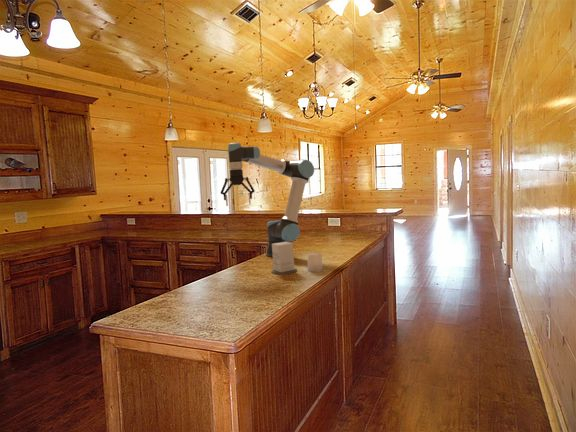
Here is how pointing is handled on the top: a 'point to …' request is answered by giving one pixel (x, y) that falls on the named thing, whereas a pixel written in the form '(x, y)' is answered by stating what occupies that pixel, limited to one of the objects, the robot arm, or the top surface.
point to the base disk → (283, 272)
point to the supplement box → (283, 256)
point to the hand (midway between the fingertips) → (238, 205)
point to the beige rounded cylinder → (314, 262)
